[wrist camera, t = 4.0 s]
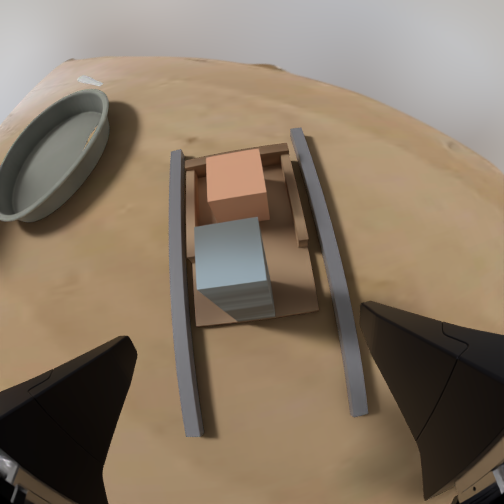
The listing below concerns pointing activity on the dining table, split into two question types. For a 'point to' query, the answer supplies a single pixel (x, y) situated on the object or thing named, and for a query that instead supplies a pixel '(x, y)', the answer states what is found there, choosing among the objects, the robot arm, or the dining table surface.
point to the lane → (181, 299)
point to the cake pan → (53, 156)
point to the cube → (237, 186)
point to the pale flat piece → (89, 80)
